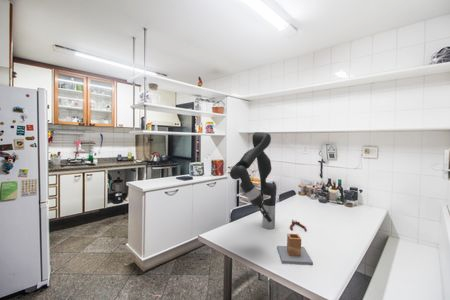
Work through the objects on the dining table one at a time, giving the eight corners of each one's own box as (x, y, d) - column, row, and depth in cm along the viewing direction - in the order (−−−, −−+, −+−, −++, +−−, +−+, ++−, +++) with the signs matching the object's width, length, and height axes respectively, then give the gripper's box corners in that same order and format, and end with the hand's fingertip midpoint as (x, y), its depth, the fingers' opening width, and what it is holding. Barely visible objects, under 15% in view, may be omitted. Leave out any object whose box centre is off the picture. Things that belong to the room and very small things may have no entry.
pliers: (301, 221, 173) (301, 218, 173) (307, 232, 153) (307, 228, 153) (286, 220, 174) (286, 217, 174) (290, 231, 154) (290, 227, 154)
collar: (286, 250, 124) (287, 233, 123) (297, 250, 124) (298, 233, 123) (289, 256, 118) (289, 238, 117) (300, 256, 117) (301, 239, 117)
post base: (276, 247, 129) (277, 234, 129) (303, 249, 128) (304, 235, 128) (282, 263, 113) (282, 247, 113) (312, 265, 112) (313, 249, 112)
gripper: (261, 196, 115) (277, 220, 117) (257, 188, 129) (272, 209, 131) (249, 203, 116) (265, 227, 117) (247, 195, 130) (261, 216, 131)
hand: (269, 218), depth 124 cm, fingers open, 8 cm apart
